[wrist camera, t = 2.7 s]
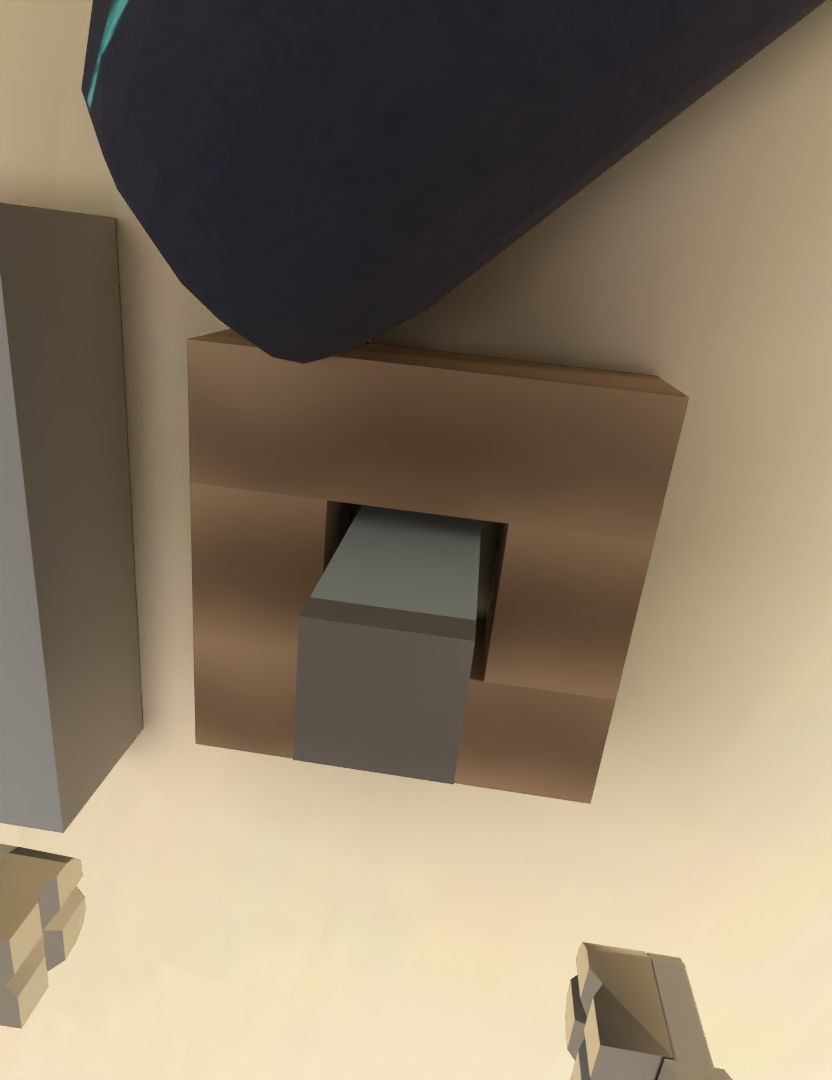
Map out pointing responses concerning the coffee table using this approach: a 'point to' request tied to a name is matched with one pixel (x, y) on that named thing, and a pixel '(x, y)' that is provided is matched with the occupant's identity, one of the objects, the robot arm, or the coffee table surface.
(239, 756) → the coffee table surface
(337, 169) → the portable speaker
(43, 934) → the robot arm
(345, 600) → the plug
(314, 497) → the square wooden frame
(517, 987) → the coffee table surface
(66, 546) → the port box
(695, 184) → the coffee table surface
